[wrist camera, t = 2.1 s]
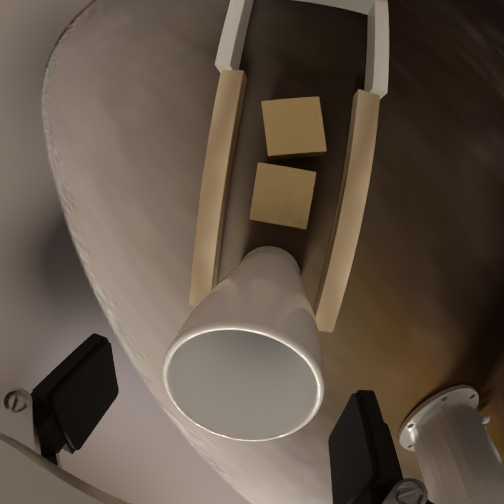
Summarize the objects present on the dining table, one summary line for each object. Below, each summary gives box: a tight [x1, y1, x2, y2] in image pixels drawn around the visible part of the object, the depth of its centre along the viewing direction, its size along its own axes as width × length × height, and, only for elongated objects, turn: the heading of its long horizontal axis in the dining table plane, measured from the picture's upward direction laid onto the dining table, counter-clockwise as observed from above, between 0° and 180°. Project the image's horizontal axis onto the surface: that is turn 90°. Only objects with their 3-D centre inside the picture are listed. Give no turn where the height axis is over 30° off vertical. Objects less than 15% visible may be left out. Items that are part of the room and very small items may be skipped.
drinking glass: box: [162, 246, 325, 441], centre depth 17 cm, size 7×7×15 cm
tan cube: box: [261, 97, 327, 160], centre depth 19 cm, size 4×4×4 cm
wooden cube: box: [249, 162, 316, 229], centre depth 21 cm, size 4×4×4 cm
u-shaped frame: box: [215, 0, 389, 99], centre depth 17 cm, size 13×11×3 cm
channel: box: [189, 69, 380, 332], centre depth 22 cm, size 13×20×2 cm, turn 171°
